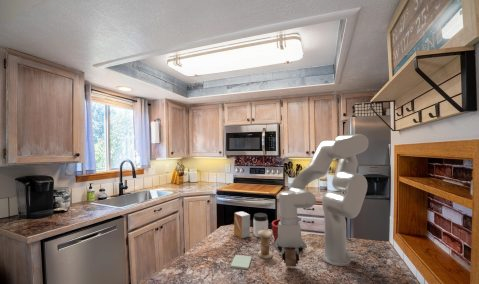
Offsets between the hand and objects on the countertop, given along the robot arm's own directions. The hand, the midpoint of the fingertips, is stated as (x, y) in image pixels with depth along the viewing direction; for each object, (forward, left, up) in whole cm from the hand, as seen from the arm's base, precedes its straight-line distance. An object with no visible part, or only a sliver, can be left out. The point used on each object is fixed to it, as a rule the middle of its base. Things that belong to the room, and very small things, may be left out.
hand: (290, 261), depth 96 cm
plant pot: (+3, -23, -3) cm, 24 cm away
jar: (+17, -34, -3) cm, 38 cm away
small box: (+28, -31, -3) cm, 42 cm away
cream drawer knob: (+12, -9, -3) cm, 16 cm away
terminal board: (+22, 0, -3) cm, 22 cm away
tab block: (0, 0, -1) cm, 1 cm away
